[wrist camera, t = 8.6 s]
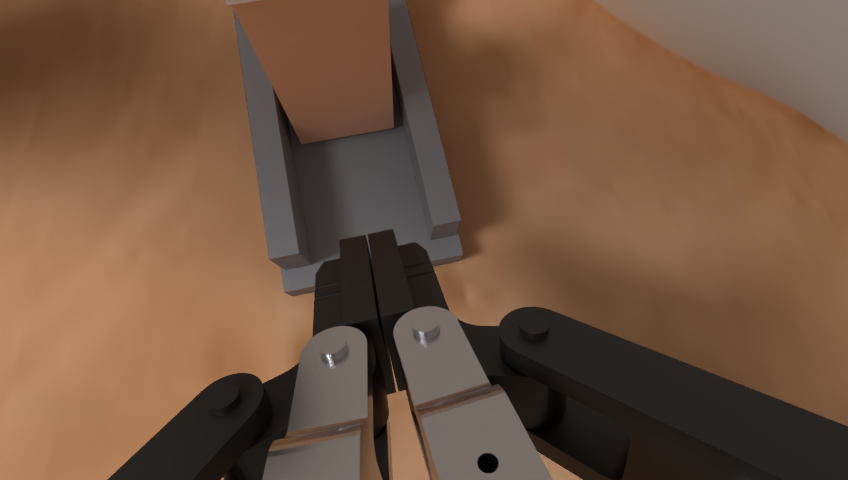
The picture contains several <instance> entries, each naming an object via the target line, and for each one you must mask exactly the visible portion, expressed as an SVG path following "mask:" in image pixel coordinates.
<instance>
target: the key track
mask: <svg viewBox="0 0 848 480" xmlns="http://www.w3.org/2000/svg"><path fill="white" fill-rule="evenodd" d="M388 4H389V27H390V49H391V72H392V94H393V116H394V128H391V129H385V130H380V131H374V132H368V133H363V134H357V135H352V136H346V137H341V138H335V139H329V140H324V141H318V142H313V143H307V144H301V142H300V140H299V138H298V136H297V134H296V132H295V130H294V128H293V126H292V124H291V122H290V120H289V118H288V116H287V114H286V112H285V110H284V108H283V106H282V104H281V102H280V100H279V98H278V96H277V94H276V92H275V90H274V88H273V86H272V84H271V82H270V80H269V78H268V76H267V74H266V72H265V70H264V68H263V66H262V64H261V62H260V60H259V58H258V56H257V54H256V52H255V50H254V48H253V46H252V45H251V43H250V41H249V39H248V37H247V35H246V33H245V31H244V29H243V27H242V25H241V23H240V21H239V19H238V17H237V15H236V13H235V11H234V17H235V24H236V31H237V38H238V45H239V52H240V59H241V66H242V73H243V80H244V87H245V94H246V101H247V108H248V114H249V121H250V128H251V135H252V142H253V149H254V156H255V163H256V170H257V177H258V184H259V191H260V198H261V205H262V212H263V219H264V226H265V233H266V240H267V247H268V254H269V260H271V261H272V262H274V263H276V264H277V265H279V266H280V267H281V273H282V279H283V286H284V292H285V293H287V294H289V295H291V296H296V295H301V294H305V293H310V292H315V274H316V273H317V271H318V270H319V268H320V267H321V265H322V264H323V262H324V261H329V260H334V259H338V258H340V247H339V240H342V239H347V238H351V237H356V236H361V235H366V238H367V242H368V247H369V251H370V246H369V240H368V234H370V233H375V232H380V231H384V230H389V229H393V230H394V234H395V237H396V241H397V245H398V246H399V245H404V244H408V243H413V242H416V243H417V244H419V245H420V246H422V247H423V248H424V249H426V250H427V253H428V256H429V258H430V261H431V264H432V266H437V265H442V264H446V263H451V262H456V261H460V259H461V258H462V256H463V255H464V254H463V250H462V246H461V242H460V238H459V234H458V230H457V229H458V226H459V224H460V222H461V217H460V213H459V209H458V206H457V202H456V198H455V194H454V190H453V186H452V182H451V178H450V174H449V170H448V166H447V162H446V158H445V154H444V150H443V146H442V142H441V138H440V134H439V130H438V126H437V122H436V119H435V115H434V111H433V107H432V103H431V99H430V95H429V91H428V87H427V83H426V79H425V75H424V71H423V67H422V63H421V59H420V55H419V51H418V47H417V43H416V39H415V36H414V32H413V28H412V24H411V20H410V16H409V12H408V8H407V4H406V0H388ZM233 10H234V9H233ZM370 255H371V253H370Z"/></svg>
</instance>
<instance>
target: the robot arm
mask: <svg viewBox="0 0 848 480" xmlns="http://www.w3.org/2000/svg"><path fill="white" fill-rule="evenodd" d="M368 240H369V246H370V251H369V247H368V242H367V238H366V235H361V236H356V237H351V238H347V239H342V240H339V247H340V258H338V259H334V260H329V261H324V262H323V264H322V265H321V267H320V268H319V270H318V271H317V273H316V274H315V300H314V321H313V337H312V338H311V339H310V340H309V341H308V342H307V343H306V345H305V346H304V348H303V350H302V352H301V355H300V361H299V363H298V364H297V365H296V366H295V367H293V368H292V369H290V370H289V371H287V372H285V373H283V374H281V375H279V376H277V377H275V378H273V379H271V380H269V381H267V382H265V383H263V384H262V382H261V380H260V379H259V378H258V377H256V376H254V375H252V374H248V373H237V374H232V375H229V376H226V377H223V378H221V379H219V380H217V381H215V382H213V383H212V384H210V385H209V386H208V387H206V388H205V389H204V390H203V391H202V392H200V393H199V394H198V395H197V396H196V397H195V398H194V399H193V400H192V401H191V402H190V403H189V404H188V405H187V406H186V407H185V408H183V409H182V410H181V411H180V412H179V413H178V414H177V415H176V416H175V417H174V418H173V419H172V420H171V421H170V422H169V423H167V424H166V425H165V426H164V427H163V428H162V429H161V430H160V431H159V432H158V433H157V434H156V435H155V436H154V437H153V438H151V439H150V440H149V441H148V442H147V443H146V444H145V445H144V446H143V447H142V448H141V449H140V450H139V451H138V452H137V453H135V454H134V455H133V456H132V457H131V458H130V459H129V460H128V461H127V462H126V463H125V464H124V465H123V466H122V467H121V468H119V469H118V470H117V471H116V472H115V473H114V474H113V475H112V476H111V477H110V478H109V479H108V480H221V478H222V477H223V478H224V480H393V470H392V452H391V433H390V423H389V419H388V416H389V408H388V401H387V394H391V393H395V392H396V389H395V383H394V377H393V371H392V365H393V370H394V374H395V378H396V382H397V386H398V390H399V391H403V390H406V392H407V397H408V401H409V405H410V410H411V414H412V419H413V422H414V426H415V429H416V433H417V436H418V440H419V443H420V447H421V450H422V454H423V457H424V461H425V464H426V468H427V471H428V475H429V478H430V480H552V478H551V476H550V474H549V472H548V470H547V469H546V467H545V465H544V463H543V461H542V459H541V457H540V456H539V454H538V452H539V453H541V454H543V455H544V456H546V457H547V458H549V459H551V460H552V461H554V462H556V463H557V464H559V465H560V466H562V467H564V468H565V469H567V470H569V471H570V472H572V473H573V474H575V475H577V476H578V477H580V478H581V479H583V480H848V426H845V425H842V424H840V423H837V422H835V421H832V420H830V419H827V418H825V417H822V416H819V415H817V414H814V413H812V412H809V411H807V410H804V409H802V408H799V407H796V406H794V405H791V404H789V403H786V402H784V401H781V400H779V399H776V398H773V397H771V396H768V395H766V394H763V393H761V392H758V391H756V390H753V389H750V388H748V387H745V386H743V385H740V384H738V383H735V382H733V381H730V380H727V379H725V378H722V377H720V376H717V375H715V374H712V373H710V372H707V371H704V370H702V369H699V368H697V367H694V366H692V365H689V364H687V363H684V362H681V361H679V360H676V359H674V358H671V357H669V356H666V355H664V354H661V353H658V352H656V351H653V350H651V349H648V348H646V347H643V346H641V345H638V344H635V343H633V342H630V341H628V340H625V339H623V338H620V337H618V336H615V335H612V334H610V333H607V332H605V331H602V330H600V329H597V328H595V327H592V326H589V325H587V324H584V323H582V322H579V321H577V320H574V319H572V318H569V317H566V316H564V315H561V314H559V313H556V312H554V311H551V310H548V309H545V308H540V307H524V308H519V309H516V310H514V311H512V312H510V313H508V314H507V315H506V316H505V317H504V318H503V319H502V320H501V322H500V325H499V326H476V325H471V324H467V323H465V322H462V321H460V320H459V319H457V318H456V317H455V315H454V314H453V313H451V312H450V311H449V309H448V306H447V304H446V301H445V298H444V296H443V293H442V290H441V288H440V285H439V282H438V280H437V277H436V274H435V272H434V269H433V266H432V264H431V261H430V258H429V256H428V253H427V250H426V249H424V248H423V247H422V246H420V245H419V244H417V243H416V242H413V243H408V244H404V245H399V246H398V245H397V241H396V237H395V234H394V230H393V229H389V230H384V231H380V232H375V233H370V234H368ZM370 253H371V255H370ZM390 357H391V359H390ZM391 361H392V365H391ZM537 451H538V452H537Z"/></svg>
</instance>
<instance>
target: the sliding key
mask: <svg viewBox="0 0 848 480" xmlns="http://www.w3.org/2000/svg"><path fill="white" fill-rule="evenodd" d="M224 1H225V2H226V4H227V5H232V7H233V9H234V11H235V13H236V15H237V17H238V19H239V21H240V23H241V25H242V27H243V29H244V31H245V33H246V35H247V37H248V39H249V41H250V43H251V45H252V46H253V48H254V50H255V52H256V54H257V56H258V58H259V60H260V62H261V64H262V66H263V68H264V70H265V72H266V74H267V76H268V78H269V80H270V82H271V84H272V86H273V88H274V90H275V92H276V94H277V96H278V98H279V100H280V102H281V104H282V106H283V108H284V110H285V112H286V114H287V116H288V118H289V120H290V122H291V124H292V126H293V128H294V130H295V132H296V134H297V136H298V138H299V140H300V142H301V144H307V143H313V142H318V141H324V140H329V139H335V138H341V137H346V136H352V135H357V134H363V133H368V132H374V131H380V130H385V129H391V128H394V116H393V94H392V72H391V49H390V27H389V4H388V0H224Z"/></svg>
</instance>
